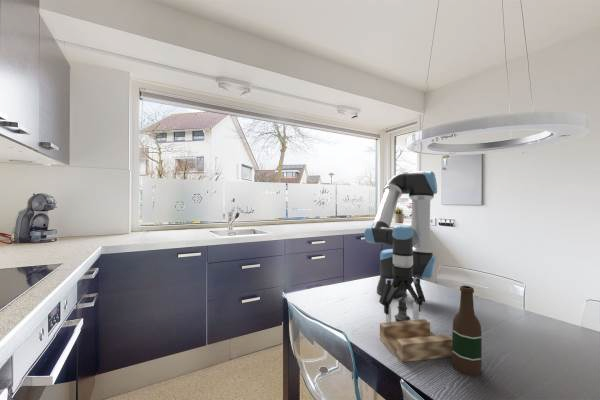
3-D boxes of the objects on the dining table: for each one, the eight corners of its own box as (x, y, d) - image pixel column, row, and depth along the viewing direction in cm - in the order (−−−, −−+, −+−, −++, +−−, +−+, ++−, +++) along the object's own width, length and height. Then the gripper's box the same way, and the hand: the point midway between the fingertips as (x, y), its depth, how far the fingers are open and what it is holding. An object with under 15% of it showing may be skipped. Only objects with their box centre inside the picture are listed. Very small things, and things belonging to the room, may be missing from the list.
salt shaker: (391, 324, 106) (391, 294, 106) (402, 321, 108) (402, 292, 108) (401, 331, 100) (402, 299, 100) (413, 328, 102) (414, 297, 102)
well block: (424, 333, 98) (424, 319, 98) (454, 356, 84) (454, 339, 84) (379, 338, 95) (379, 322, 95) (402, 362, 81) (402, 344, 81)
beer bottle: (487, 370, 78) (487, 288, 78) (475, 380, 73) (475, 293, 73) (458, 357, 84) (459, 281, 84) (446, 365, 79) (446, 285, 79)
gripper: (423, 261, 110) (423, 314, 110) (370, 264, 106) (370, 319, 106) (435, 266, 102) (435, 323, 102) (379, 268, 98) (378, 328, 98)
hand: (402, 321), depth 104 cm, fingers open, 11 cm apart
